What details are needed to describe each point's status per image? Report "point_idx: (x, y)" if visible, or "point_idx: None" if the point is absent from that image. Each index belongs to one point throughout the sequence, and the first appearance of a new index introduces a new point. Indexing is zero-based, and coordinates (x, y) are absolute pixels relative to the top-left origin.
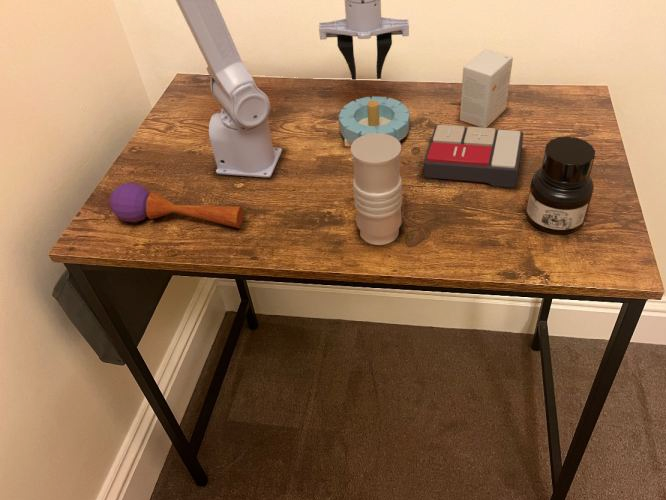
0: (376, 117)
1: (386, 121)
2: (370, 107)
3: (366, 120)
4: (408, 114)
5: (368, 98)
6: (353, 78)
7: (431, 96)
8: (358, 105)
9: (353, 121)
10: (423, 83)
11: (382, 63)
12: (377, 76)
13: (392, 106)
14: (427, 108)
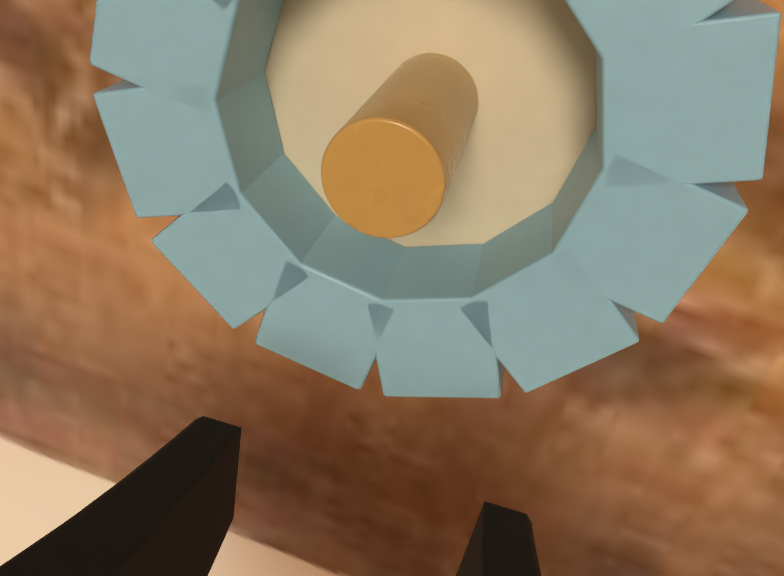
0: (389, 84)
1: (319, 152)
2: (422, 130)
3: (463, 214)
4: (98, 37)
5: (394, 374)
6: (514, 522)
7: (39, 350)
8: (499, 317)
9: (634, 83)
10: (80, 462)
11: (30, 556)
12: (219, 442)
13: (224, 207)
14: (60, 252)
